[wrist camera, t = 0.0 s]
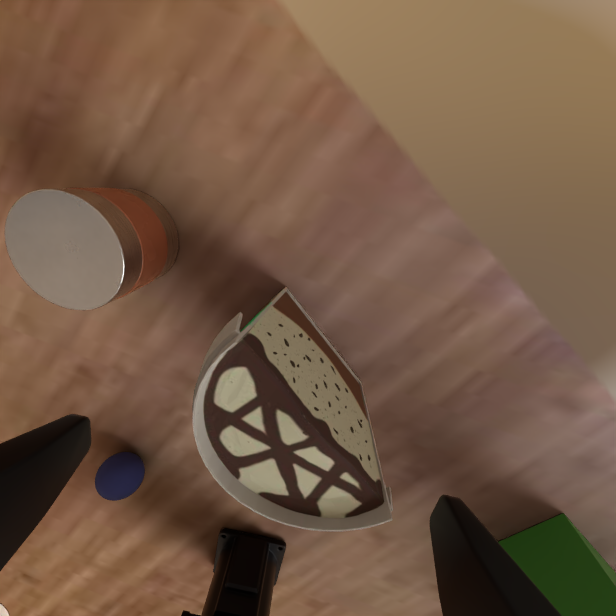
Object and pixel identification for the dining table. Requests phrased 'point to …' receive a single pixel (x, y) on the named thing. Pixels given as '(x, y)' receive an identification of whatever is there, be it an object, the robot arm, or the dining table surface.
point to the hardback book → (565, 568)
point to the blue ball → (119, 476)
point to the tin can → (89, 243)
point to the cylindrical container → (3, 611)
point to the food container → (289, 424)
